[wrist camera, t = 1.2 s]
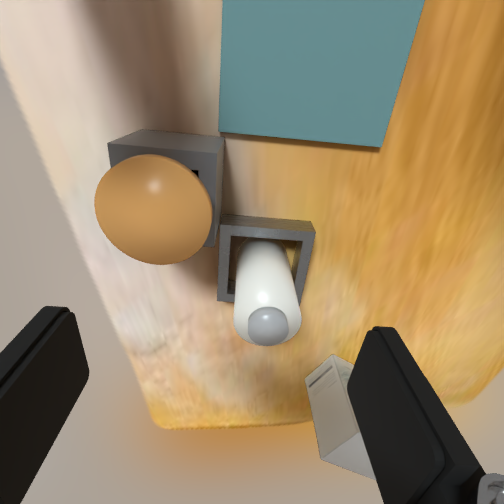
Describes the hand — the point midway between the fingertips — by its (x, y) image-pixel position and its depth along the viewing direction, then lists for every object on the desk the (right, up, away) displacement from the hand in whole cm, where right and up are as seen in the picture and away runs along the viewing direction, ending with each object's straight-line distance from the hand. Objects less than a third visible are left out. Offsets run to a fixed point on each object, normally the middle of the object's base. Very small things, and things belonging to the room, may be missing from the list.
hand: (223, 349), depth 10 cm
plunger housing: (-5, +10, +17) cm, 21 cm away
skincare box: (+14, -15, +32) cm, 38 cm away
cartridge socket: (+2, +3, +21) cm, 22 cm away
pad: (+6, +18, +13) cm, 23 cm away
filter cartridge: (+2, +3, +21) cm, 22 cm away
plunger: (-5, +8, +13) cm, 16 cm away
